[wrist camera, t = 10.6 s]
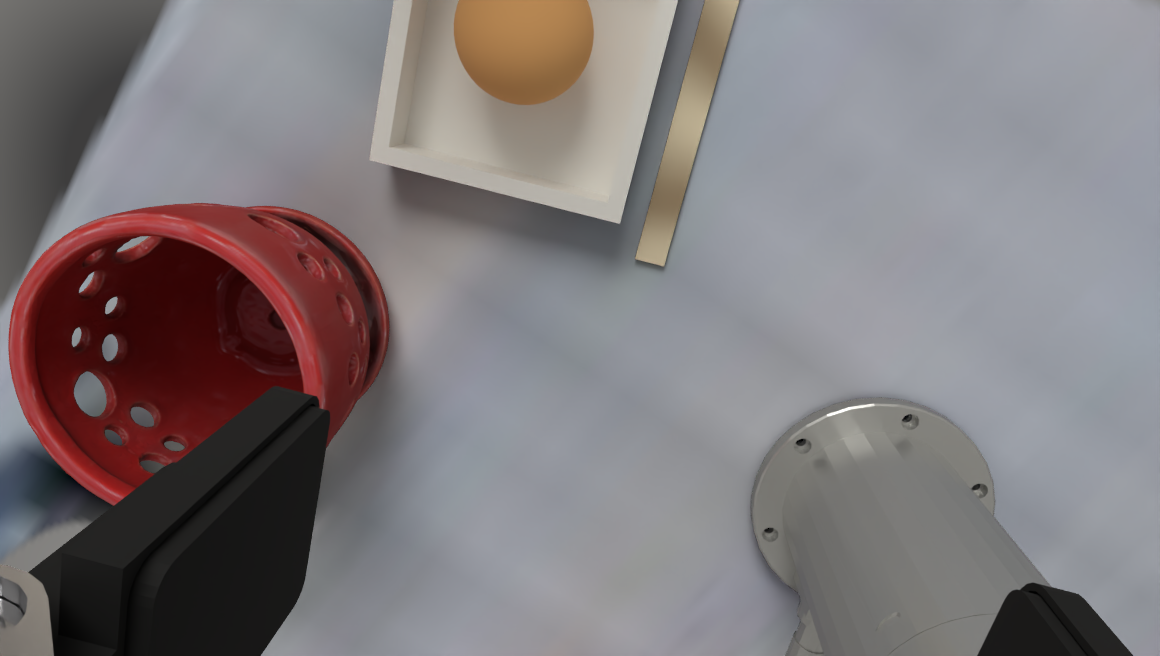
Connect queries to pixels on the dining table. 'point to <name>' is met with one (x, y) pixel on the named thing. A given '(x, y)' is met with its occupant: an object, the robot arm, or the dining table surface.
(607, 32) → the tray
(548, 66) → the ball
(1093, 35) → the dining table surface
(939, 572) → the robot arm
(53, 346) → the plant pot
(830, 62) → the dining table surface
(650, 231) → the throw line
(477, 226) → the dining table surface
